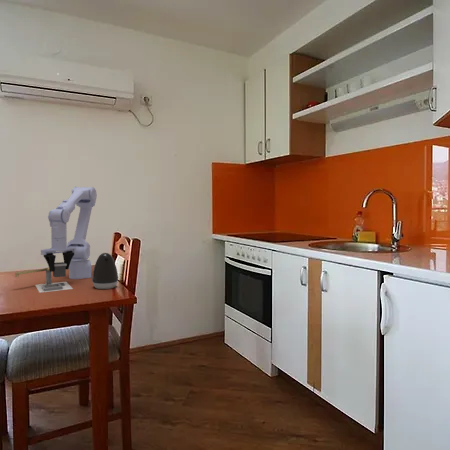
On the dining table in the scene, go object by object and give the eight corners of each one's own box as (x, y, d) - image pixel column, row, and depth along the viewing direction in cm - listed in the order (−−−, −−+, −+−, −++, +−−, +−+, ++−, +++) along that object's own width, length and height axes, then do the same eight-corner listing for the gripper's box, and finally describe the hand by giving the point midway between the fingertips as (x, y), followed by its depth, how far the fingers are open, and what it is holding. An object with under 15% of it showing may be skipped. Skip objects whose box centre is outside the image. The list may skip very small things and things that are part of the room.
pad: (63, 283, 149) (63, 282, 149) (64, 285, 146) (64, 284, 146) (54, 284, 147) (54, 283, 147) (55, 286, 144) (55, 285, 144)
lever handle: (53, 272, 149) (53, 267, 149) (17, 277, 137) (17, 273, 137) (50, 271, 150) (49, 267, 150) (14, 276, 138) (14, 272, 138)
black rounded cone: (94, 293, 138) (93, 255, 137) (90, 287, 147) (90, 251, 147) (120, 290, 143) (120, 253, 142) (115, 285, 152) (115, 250, 151)
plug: (63, 274, 150) (63, 262, 150) (66, 276, 146) (66, 263, 146) (52, 275, 147) (52, 262, 147) (54, 277, 143) (54, 264, 143)
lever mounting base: (66, 283, 153) (66, 268, 153) (72, 291, 141) (72, 274, 141) (35, 287, 147) (35, 271, 146) (39, 295, 134) (39, 277, 134)
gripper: (69, 236, 154) (69, 266, 155) (36, 238, 142) (36, 271, 143) (79, 237, 150) (79, 268, 151) (46, 239, 138) (46, 273, 139)
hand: (59, 270), depth 146 cm, fingers closed on plug, 6 cm apart
